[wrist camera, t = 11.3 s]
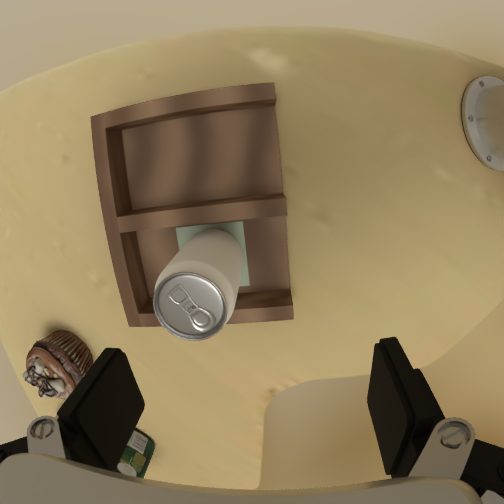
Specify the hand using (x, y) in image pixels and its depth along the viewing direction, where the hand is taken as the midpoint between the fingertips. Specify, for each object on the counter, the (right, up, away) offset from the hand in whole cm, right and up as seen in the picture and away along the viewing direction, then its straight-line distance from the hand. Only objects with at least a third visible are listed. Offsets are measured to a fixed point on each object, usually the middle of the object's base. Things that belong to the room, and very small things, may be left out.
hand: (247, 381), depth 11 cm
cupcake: (-27, -11, +30) cm, 42 cm away
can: (-4, +4, +23) cm, 24 cm away
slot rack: (-6, +9, +23) cm, 25 cm away
